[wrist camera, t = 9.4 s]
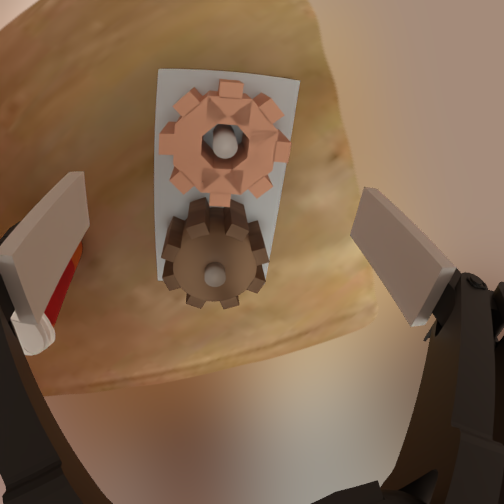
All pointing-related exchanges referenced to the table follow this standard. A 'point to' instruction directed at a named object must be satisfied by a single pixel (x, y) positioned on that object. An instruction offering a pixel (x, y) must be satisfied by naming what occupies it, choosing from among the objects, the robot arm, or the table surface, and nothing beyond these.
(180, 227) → the gear
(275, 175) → the gear board
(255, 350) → the table surface
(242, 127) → the gear
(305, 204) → the table surface
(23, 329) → the paper cup
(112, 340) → the table surface
